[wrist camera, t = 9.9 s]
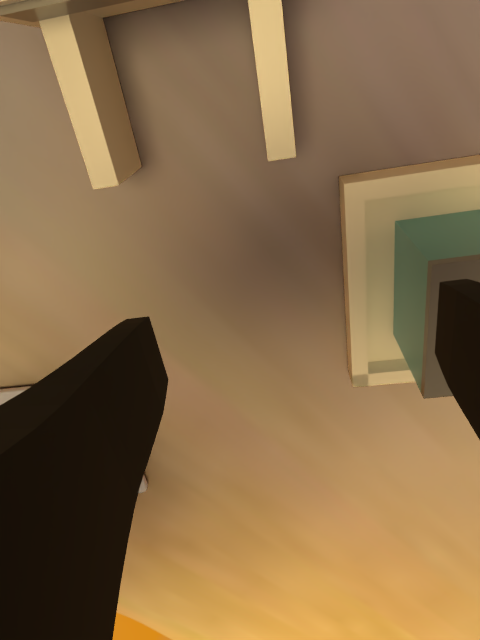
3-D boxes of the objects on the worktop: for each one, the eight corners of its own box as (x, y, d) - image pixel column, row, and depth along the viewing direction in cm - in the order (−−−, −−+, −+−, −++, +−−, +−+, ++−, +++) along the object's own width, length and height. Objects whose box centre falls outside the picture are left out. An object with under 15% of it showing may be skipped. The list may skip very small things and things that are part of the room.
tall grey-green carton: (475, 325, 22) (527, 389, 17) (393, 334, 22) (423, 398, 18) (489, 207, 19) (556, 249, 15) (395, 221, 19) (431, 265, 15)
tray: (512, 354, 23) (527, 371, 22) (348, 370, 24) (352, 387, 23) (550, 144, 18) (572, 149, 17) (338, 176, 19) (344, 184, 18)
